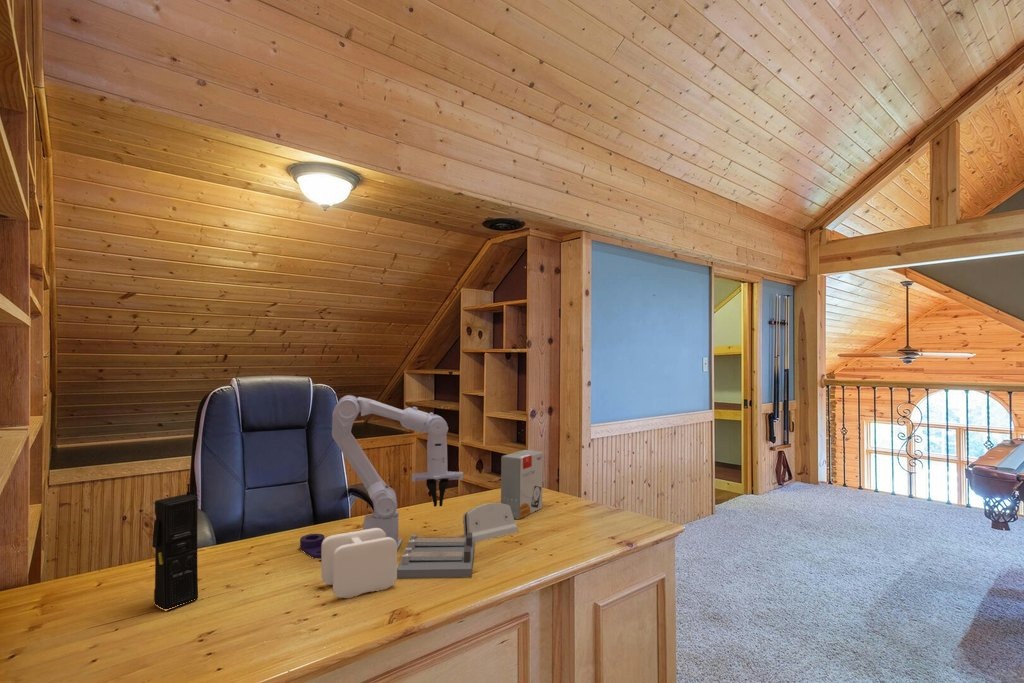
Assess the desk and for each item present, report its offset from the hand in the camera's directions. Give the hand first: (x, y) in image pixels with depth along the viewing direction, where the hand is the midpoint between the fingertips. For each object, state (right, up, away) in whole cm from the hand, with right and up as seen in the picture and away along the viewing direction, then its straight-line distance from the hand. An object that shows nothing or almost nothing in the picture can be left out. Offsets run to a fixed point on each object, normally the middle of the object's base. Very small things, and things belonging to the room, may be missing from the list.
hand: (438, 505), depth 151 cm
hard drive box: (+25, -11, +28) cm, 39 cm away
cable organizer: (-15, -10, -29) cm, 34 cm away
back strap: (+1, -8, -8) cm, 12 cm away
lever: (-33, -11, -7) cm, 35 cm away
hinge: (+15, -11, +6) cm, 19 cm away
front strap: (+1, -8, -18) cm, 20 cm away
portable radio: (-52, -10, -37) cm, 65 cm away
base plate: (+2, -10, -13) cm, 17 cm away
